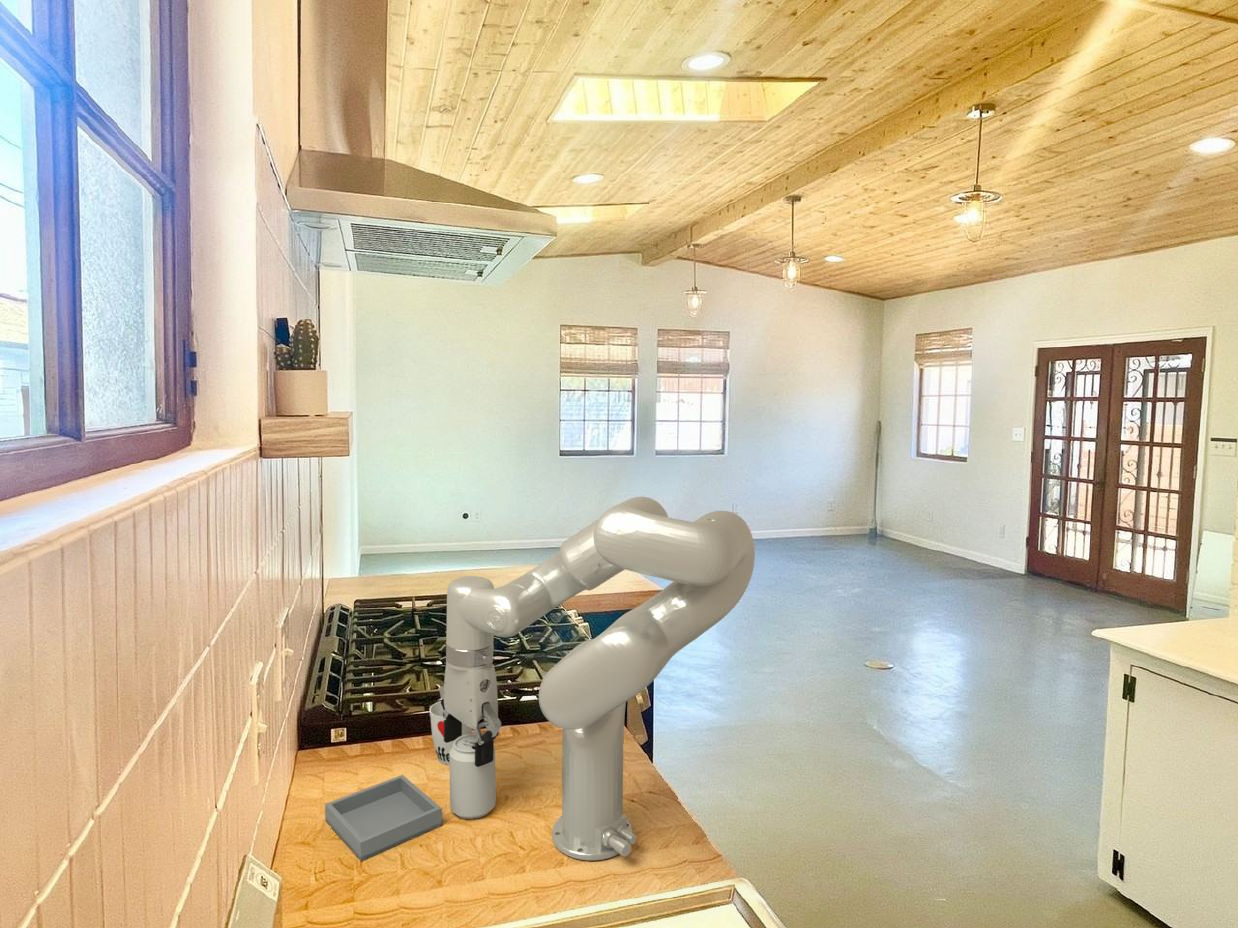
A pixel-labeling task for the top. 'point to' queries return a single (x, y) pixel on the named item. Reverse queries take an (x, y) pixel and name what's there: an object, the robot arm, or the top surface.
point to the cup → (442, 733)
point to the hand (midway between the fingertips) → (467, 751)
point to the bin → (382, 816)
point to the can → (470, 780)
